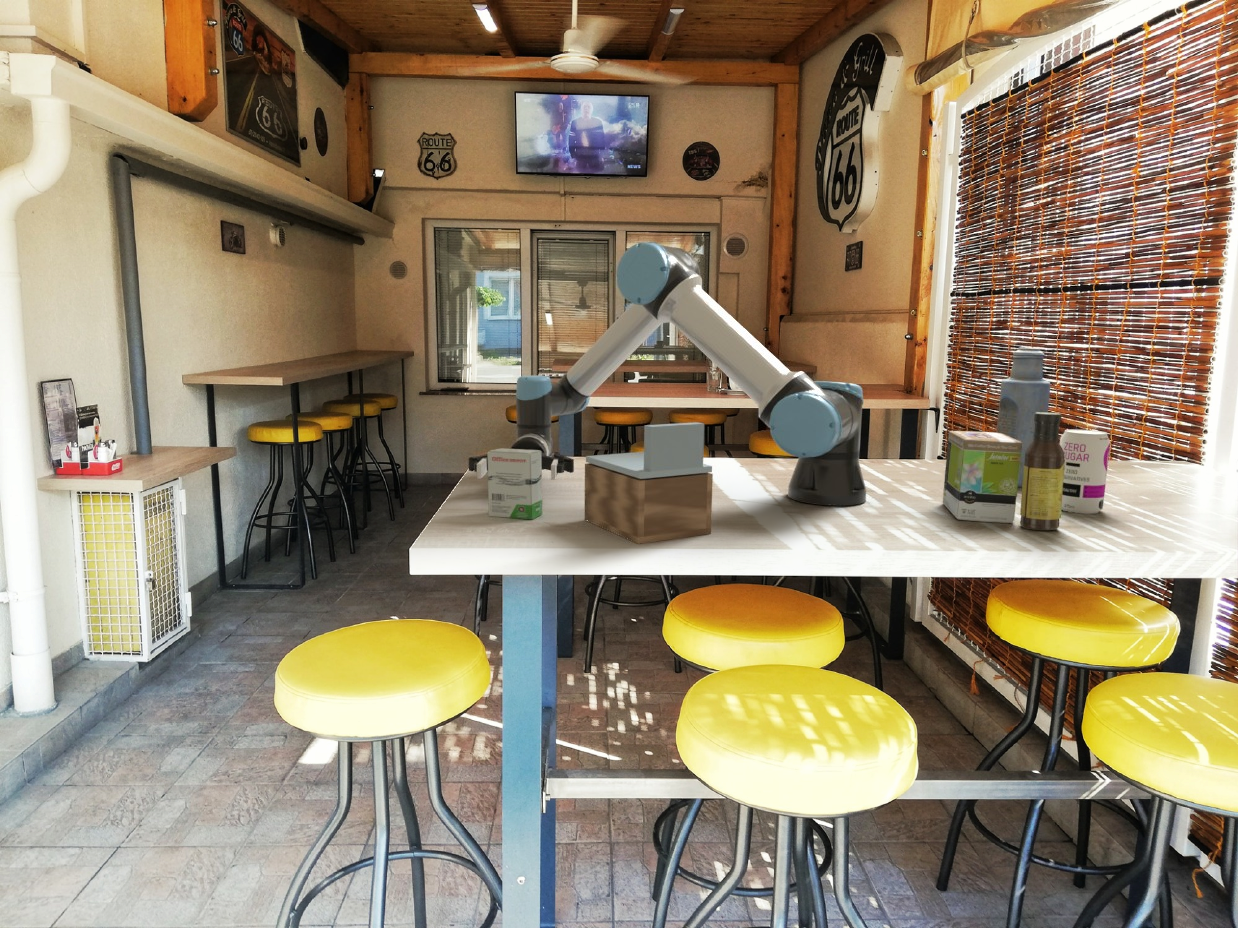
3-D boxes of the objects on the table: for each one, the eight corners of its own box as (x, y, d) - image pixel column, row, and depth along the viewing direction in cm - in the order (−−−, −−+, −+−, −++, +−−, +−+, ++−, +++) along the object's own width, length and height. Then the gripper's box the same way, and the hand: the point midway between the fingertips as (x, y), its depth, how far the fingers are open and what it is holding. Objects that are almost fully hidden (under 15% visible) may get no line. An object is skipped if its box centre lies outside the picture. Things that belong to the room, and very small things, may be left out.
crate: (584, 520, 145) (584, 463, 143) (652, 512, 152) (653, 458, 150) (638, 543, 130) (639, 480, 128) (710, 533, 136) (712, 473, 135)
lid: (585, 461, 143) (586, 415, 142) (652, 456, 150) (653, 412, 149) (640, 478, 128) (641, 427, 127) (711, 472, 135) (713, 423, 133)
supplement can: (1099, 507, 160) (1108, 430, 158) (1104, 516, 153) (1113, 435, 150) (1052, 503, 164) (1060, 428, 161) (1054, 511, 156) (1062, 432, 154)
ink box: (543, 514, 149) (543, 449, 147) (531, 520, 144) (531, 453, 142) (499, 510, 152) (499, 446, 150) (487, 516, 147) (486, 450, 145)
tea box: (1016, 524, 146) (1024, 441, 144) (955, 521, 148) (962, 438, 146) (995, 506, 161) (1002, 430, 158) (941, 503, 162) (946, 428, 160)
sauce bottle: (1067, 531, 141) (1079, 414, 138) (1035, 533, 140) (1047, 415, 136) (1040, 522, 147) (1051, 410, 144) (1010, 524, 146) (1020, 411, 142)
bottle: (982, 480, 188) (993, 346, 183) (1019, 478, 191) (1031, 347, 186) (1011, 488, 179) (1024, 348, 174) (1050, 486, 181) (1064, 348, 177)
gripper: (588, 472, 173) (583, 492, 152) (469, 471, 173) (448, 491, 153) (588, 437, 172) (584, 452, 151) (468, 435, 172) (447, 450, 151)
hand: (515, 472), depth 152 cm, fingers open, 13 cm apart
